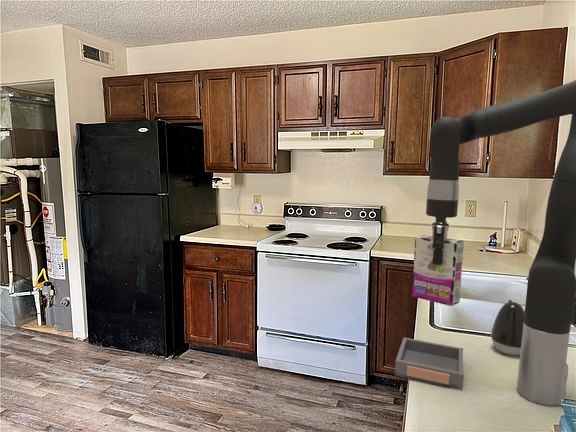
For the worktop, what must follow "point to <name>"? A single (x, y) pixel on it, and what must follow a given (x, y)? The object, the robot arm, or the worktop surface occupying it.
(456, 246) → the candy bar box
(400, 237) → the worktop surface
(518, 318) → the black rounded cone
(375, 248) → the worktop surface
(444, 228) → the robot arm
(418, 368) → the labelled tray
